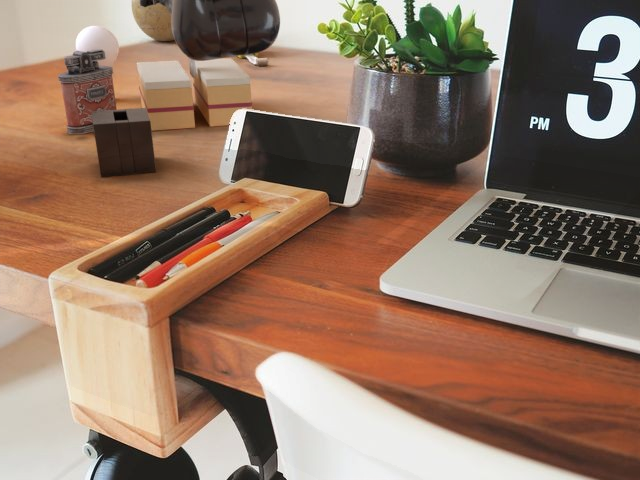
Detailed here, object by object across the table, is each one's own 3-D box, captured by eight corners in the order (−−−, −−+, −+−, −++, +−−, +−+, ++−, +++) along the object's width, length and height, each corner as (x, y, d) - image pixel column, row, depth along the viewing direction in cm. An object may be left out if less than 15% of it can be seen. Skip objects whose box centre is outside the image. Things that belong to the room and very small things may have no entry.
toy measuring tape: (250, 48, 154) (248, 16, 151) (278, 65, 139) (277, 30, 136) (220, 50, 152) (218, 17, 149) (246, 67, 136) (244, 31, 133)
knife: (186, 78, 101) (174, -38, 94) (183, 74, 104) (172, -40, 97) (203, 77, 102) (193, -38, 95) (200, 73, 104) (190, -40, 98)
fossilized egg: (123, 42, 157) (113, -33, 151) (160, 34, 168) (153, -36, 161) (171, 47, 153) (163, -29, 146) (206, 39, 163) (200, -33, 157)
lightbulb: (77, 98, 112) (65, 24, 107) (115, 93, 116) (105, 21, 111) (93, 106, 108) (82, 30, 103) (132, 101, 112) (123, 26, 107)
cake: (149, 131, 97) (144, 82, 94) (141, 106, 109) (136, 62, 106) (253, 123, 102) (250, 77, 99) (234, 100, 113) (231, 58, 110)
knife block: (101, 177, 81) (93, 124, 78) (99, 161, 86) (91, 110, 83) (156, 172, 83) (150, 120, 80) (151, 156, 88) (145, 107, 85)
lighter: (79, 135, 94) (66, 57, 90) (61, 131, 96) (48, 54, 91) (125, 122, 101) (115, 48, 96) (108, 118, 102) (97, 45, 98)
